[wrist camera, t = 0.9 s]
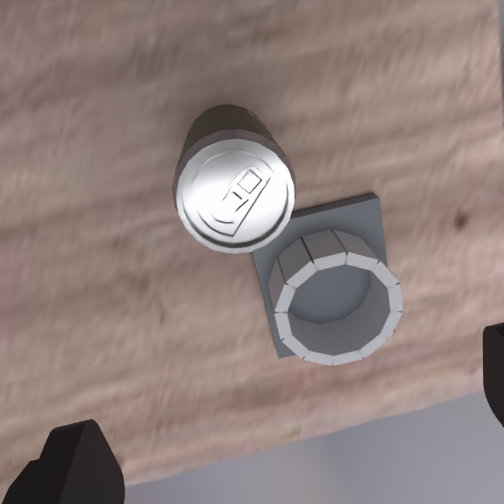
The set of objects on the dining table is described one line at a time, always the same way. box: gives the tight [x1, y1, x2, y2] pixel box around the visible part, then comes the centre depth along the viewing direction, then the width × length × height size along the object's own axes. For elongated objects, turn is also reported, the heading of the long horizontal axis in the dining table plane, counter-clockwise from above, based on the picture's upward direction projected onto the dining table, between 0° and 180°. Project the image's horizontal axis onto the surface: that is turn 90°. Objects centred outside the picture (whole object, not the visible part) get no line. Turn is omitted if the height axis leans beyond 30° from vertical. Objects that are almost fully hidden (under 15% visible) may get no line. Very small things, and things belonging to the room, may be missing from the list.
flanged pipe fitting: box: [252, 193, 403, 366], centre depth 32 cm, size 11×9×5 cm
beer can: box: [172, 105, 296, 254], centre depth 24 cm, size 5×5×12 cm
